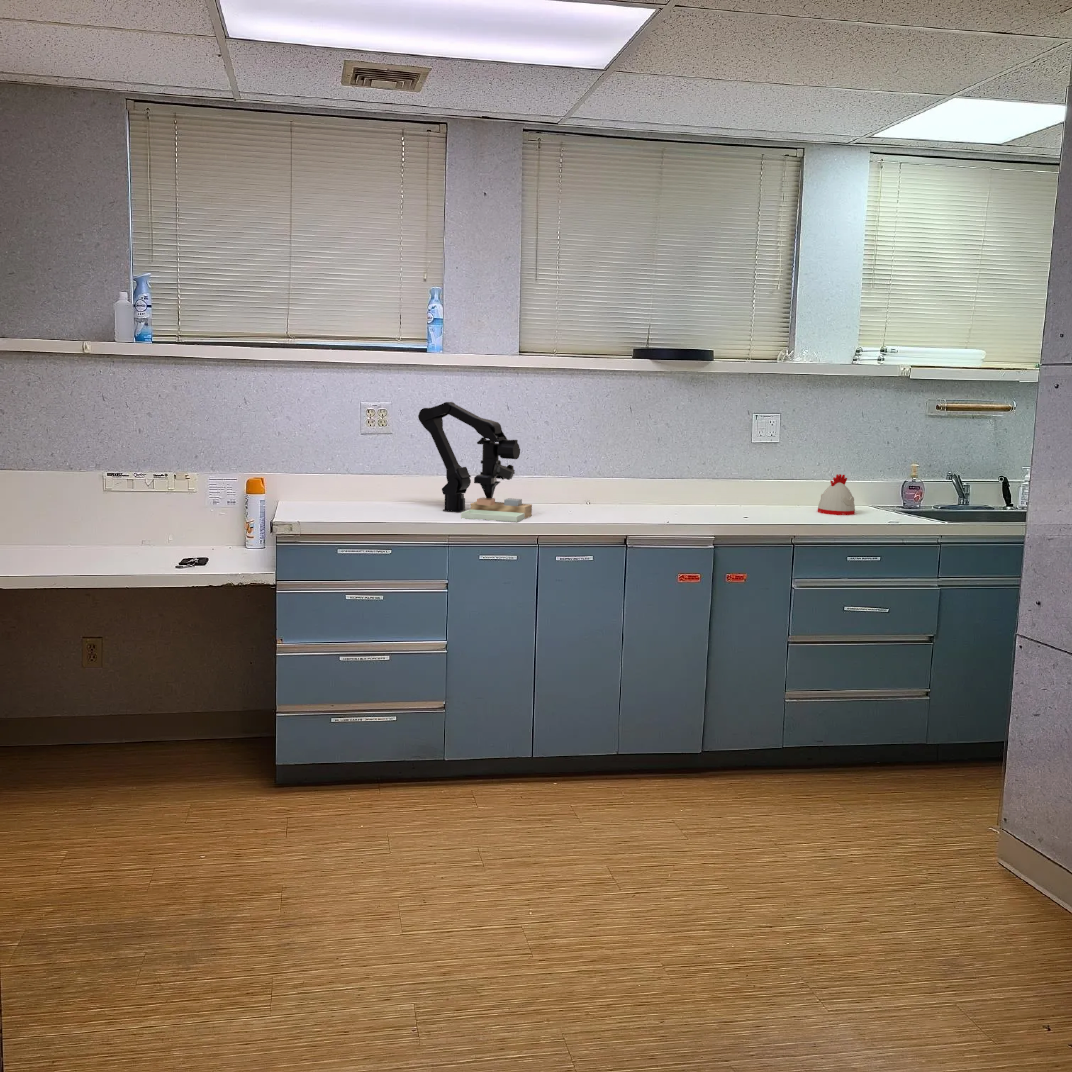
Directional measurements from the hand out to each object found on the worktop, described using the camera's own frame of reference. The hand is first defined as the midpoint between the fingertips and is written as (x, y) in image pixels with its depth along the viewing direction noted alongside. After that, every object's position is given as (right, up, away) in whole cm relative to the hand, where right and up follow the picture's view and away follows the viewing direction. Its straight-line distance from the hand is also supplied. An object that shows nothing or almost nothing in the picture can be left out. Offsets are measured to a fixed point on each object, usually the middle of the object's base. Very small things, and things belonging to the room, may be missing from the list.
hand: (489, 501), depth 381 cm
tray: (+2, -6, -10) cm, 12 cm away
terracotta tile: (-1, -1, -3) cm, 4 cm away
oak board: (+4, -5, -1) cm, 6 cm away
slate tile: (+8, -1, -3) cm, 9 cm away
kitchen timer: (+133, -3, +36) cm, 138 cm away
